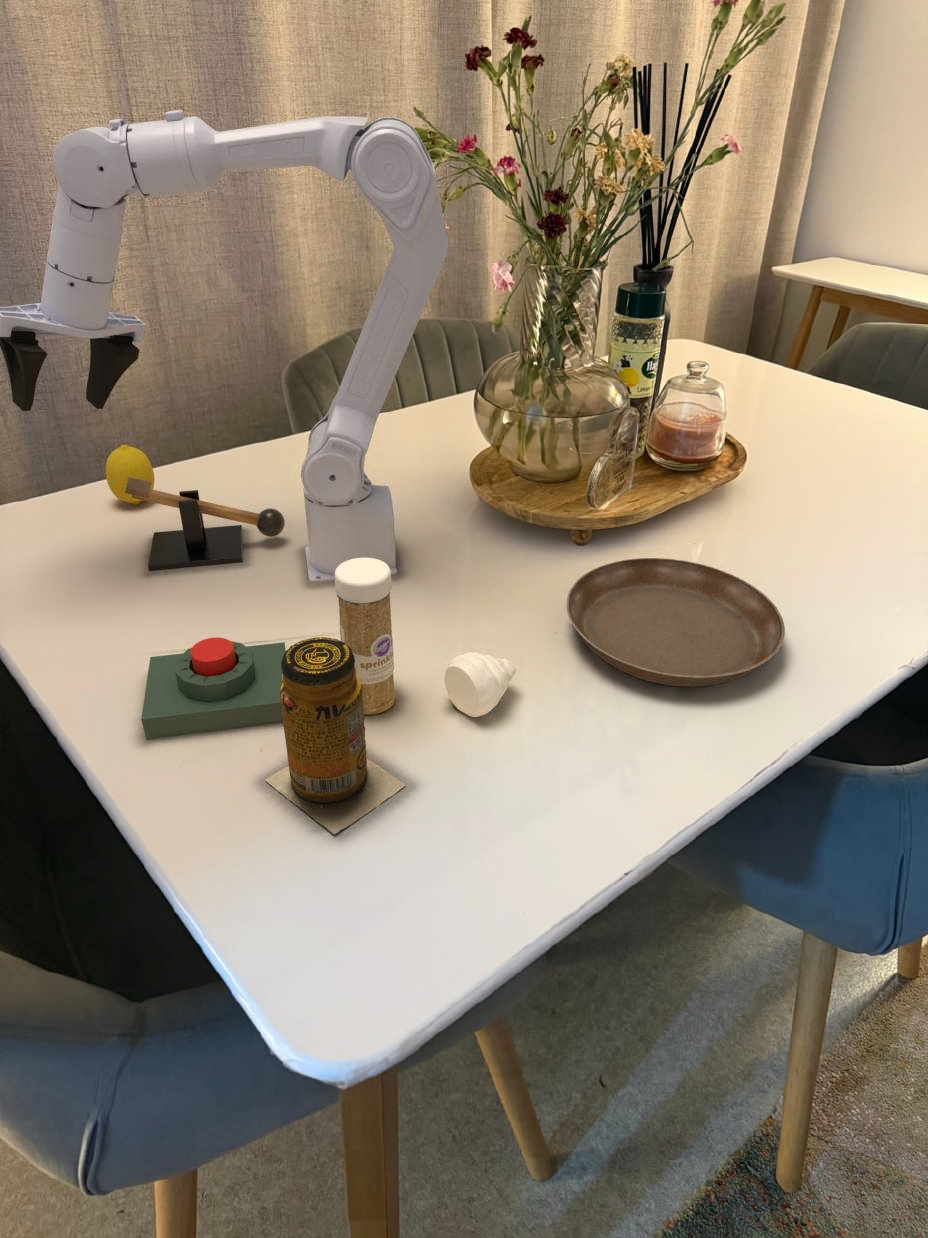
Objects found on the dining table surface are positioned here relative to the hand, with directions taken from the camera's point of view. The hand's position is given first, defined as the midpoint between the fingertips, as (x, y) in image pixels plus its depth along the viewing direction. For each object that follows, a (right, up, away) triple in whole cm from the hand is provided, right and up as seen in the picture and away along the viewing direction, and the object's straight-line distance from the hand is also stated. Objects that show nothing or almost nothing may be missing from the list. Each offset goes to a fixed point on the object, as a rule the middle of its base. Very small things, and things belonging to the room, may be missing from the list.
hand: (59, 405), depth 87 cm
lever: (+11, -10, +12) cm, 19 cm away
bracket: (+10, -13, +14) cm, 21 cm away
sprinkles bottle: (+32, -29, -9) cm, 44 cm away
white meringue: (+42, -29, -9) cm, 51 cm away
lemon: (-1, -7, +24) cm, 25 cm away
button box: (+18, -28, -9) cm, 35 cm away
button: (+18, -25, -11) cm, 33 cm away
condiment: (+30, -34, -18) cm, 49 cm away
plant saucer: (+60, -23, 0) cm, 65 cm away
